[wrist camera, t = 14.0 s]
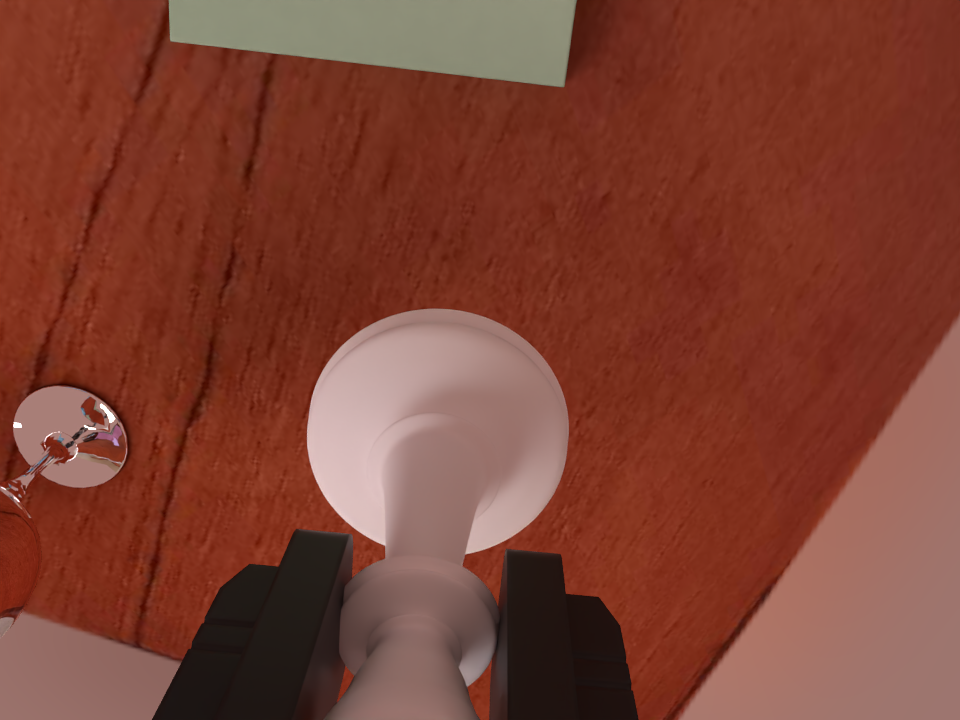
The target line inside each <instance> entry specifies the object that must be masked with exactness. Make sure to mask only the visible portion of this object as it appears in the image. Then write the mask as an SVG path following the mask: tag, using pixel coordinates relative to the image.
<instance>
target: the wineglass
mask: <svg viewBox="0 0 960 720" xmlns="http://www.w3.org/2000/svg"><path fill="white" fill-rule="evenodd" d="M13 435H14V440H15V443H16V446H17V448H18V450H19V452H20V454H21V455H22V457H23V458H24V460H25V461H26V462H27V463H28V465H29V466H30V467H29V468H28V469H27V470H25V471H24V472H23V473H21V474H20V475H18V476H17V477H15V478H13V479H11V480H9V481H5V482H1V483H0V638H1V637H2V636H3V635H4V634H5V633H6V632H7V631H8V630H9V629H10V628H11V627H12V625H13V624H14V623H15V621H16V620H17V619H18V617H19V616H20V614H21V613H22V611H23V610H24V608H25V607H26V605H27V603H28V601H29V599H30V597H31V595H32V593H33V591H34V589H35V587H36V585H37V582H38V578H39V575H40V571H41V562H42V550H41V543H40V536H39V533H38V530H37V527H36V525H35V523H34V521H33V519H32V517H31V515H30V513H29V512H28V511H27V509H26V508H25V507H24V505H23V504H22V503H21V501H22V500H23V498H24V496H25V493H26V491H27V490H28V488H29V487H30V485H31V484H32V482H33V481H34V480H35V479H36V478H37V477H38V476H39V475H41V476H43V477H44V478H46V479H48V480H50V481H52V482H54V483H56V484H59V485H62V486H66V487H71V488H91V487H96V486H99V485H102V484H104V483H106V482H108V481H109V480H111V479H112V478H114V477H115V476H116V475H117V474H118V473H119V472H120V470H121V469H122V467H123V466H124V464H125V461H126V459H127V455H128V439H127V434H126V431H125V428H124V426H123V423H122V422H121V420H120V418H119V417H118V415H117V414H116V413H115V411H114V410H113V409H112V408H111V407H110V406H109V405H108V404H107V403H106V402H105V401H103V400H102V399H100V398H99V397H97V396H96V395H94V394H92V393H90V392H88V391H86V390H83V389H81V388H77V387H73V386H67V385H53V386H47V387H43V388H40V389H38V390H35V391H34V392H32V393H31V394H29V395H28V396H26V397H25V399H24V400H23V401H22V402H21V403H20V405H19V406H18V408H17V410H16V412H15V415H14V419H13Z"/></svg>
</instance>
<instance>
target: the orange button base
mask: <svg viewBox="0 0 960 720" xmlns="http://www.w3.org/2000/svg"><path fill="white" fill-rule="evenodd" d="M576 2H577V0H169V18H170V41H172V42H181V43H189V44H198V45H206V46H215V47H223V48H232V49H241V50H249V51H258V52H266V53H275V54H283V55H292V56H300V57H309V58H317V59H326V60H334V61H343V62H351V63H360V64H368V65H377V66H385V67H394V68H402V69H411V70H420V71H428V72H437V73H445V74H454V75H462V76H471V77H479V78H488V79H496V80H505V81H513V82H522V83H530V84H539V85H547V86H556V87H564V86H565V80H566V73H567V66H568V59H569V51H570V44H571V37H572V30H573V23H574V16H575V9H576Z"/></svg>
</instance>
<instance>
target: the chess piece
mask: <svg viewBox="0 0 960 720" xmlns="http://www.w3.org/2000/svg"><path fill="white" fill-rule="evenodd" d="M568 435H569V421H568V412H567V407H566V402H565V399H564V395H563V392H562V390H561V387H560V385H559V383H558V380H557V378H556V377H555V375H554V373H553V371H552V370H551V368H550V367H549V365H548V364H547V362H546V361H545V360H544V358H543V357H542V356H541V355H540V354H539V353H538V352H537V350H536V349H535V348H534V347H533V346H531V345H530V344H529V343H528V342H527V341H526V340H525V339H523V338H522V337H521V336H519V335H518V334H517V333H515V332H514V331H512V330H510V329H509V328H507V327H505V326H503V325H502V324H500V323H498V322H495V321H493V320H491V319H488V318H486V317H483V316H480V315H476V314H473V313H469V312H464V311H459V310H451V309H421V310H414V311H408V312H404V313H400V314H396V315H393V316H390V317H387V318H384V319H382V320H380V321H377V322H375V323H373V324H371V325H369V326H368V327H366V328H364V329H363V330H361V331H360V332H358V333H357V334H355V335H354V336H353V337H351V338H350V339H349V340H348V341H347V342H346V343H344V344H343V345H342V346H341V347H340V348H339V349H338V351H337V352H336V353H335V354H334V355H333V356H332V358H331V359H330V360H329V362H328V363H327V365H326V366H325V368H324V370H323V371H322V373H321V375H320V377H319V379H318V381H317V384H316V386H315V389H314V392H313V396H312V399H311V404H310V411H309V420H308V427H307V447H308V454H309V460H310V464H311V467H312V471H313V474H314V476H315V479H316V481H317V483H318V485H319V487H320V489H321V491H322V493H323V494H324V496H325V497H326V499H327V500H328V502H329V503H330V505H331V506H332V507H333V508H334V509H335V511H336V512H337V513H338V514H339V515H340V516H341V517H342V518H343V519H344V520H345V521H346V522H347V523H349V524H350V525H351V526H352V527H353V528H355V529H356V530H357V531H359V532H360V533H362V534H363V535H365V536H367V537H368V538H370V539H372V540H374V541H376V542H378V543H380V544H382V545H384V546H385V552H386V559H383V560H381V561H378V562H376V563H374V564H372V565H370V566H368V567H366V568H365V569H363V570H362V571H360V572H359V573H358V574H356V575H355V576H354V577H353V578H352V579H351V580H350V581H349V582H348V583H347V585H346V586H345V588H344V597H343V606H342V608H341V615H340V635H339V654H340V656H341V658H342V660H343V662H344V663H345V665H346V666H347V668H348V669H349V670H350V672H351V673H352V674H353V675H354V678H353V680H352V682H351V684H350V686H349V688H348V689H347V691H346V692H345V693H344V695H343V696H342V697H341V699H340V700H339V701H338V702H337V703H336V704H335V705H334V706H333V707H332V709H331V710H330V711H329V712H328V714H327V715H326V716H325V718H324V719H323V720H480V719H479V717H478V716H477V714H476V712H475V710H474V708H473V705H472V703H471V700H470V697H469V693H468V689H467V686H469V685H470V684H472V683H473V682H474V681H475V680H476V679H478V678H479V677H480V676H481V674H482V673H483V672H484V671H485V669H486V668H487V667H488V665H489V663H490V661H491V659H492V657H493V654H494V652H495V650H496V645H497V638H498V630H499V621H500V613H499V609H498V606H497V603H496V601H495V599H494V597H493V595H492V593H491V592H490V590H489V589H488V588H487V586H486V585H485V584H484V583H483V582H482V581H481V580H480V579H479V578H478V577H477V576H476V575H474V574H473V573H472V572H470V571H469V570H467V569H466V568H464V567H462V565H463V561H464V557H465V554H469V553H473V552H477V551H481V550H484V549H487V548H490V547H492V546H495V545H497V544H499V543H501V542H503V541H505V540H507V539H509V538H510V537H512V536H514V535H515V534H517V533H518V532H520V531H521V530H522V529H524V528H525V527H526V526H527V525H528V524H530V523H531V522H532V521H533V520H534V519H535V518H536V517H537V516H538V515H539V514H540V512H541V511H542V510H543V509H544V507H545V506H546V505H547V503H548V502H549V500H550V499H551V497H552V496H553V494H554V492H555V490H556V488H557V486H558V484H559V481H560V479H561V476H562V473H563V470H564V466H565V461H566V455H567V444H568Z"/></svg>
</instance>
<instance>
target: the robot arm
mask: <svg viewBox="0 0 960 720" xmlns="http://www.w3.org/2000/svg"><path fill="white" fill-rule="evenodd" d="M352 562H353V537H352V534H344V533H334V532H323V531H312V530H302V529H296V530H295V531H294V533H293V535H292V537H291V540H290V542H289V544H288V547H287V549H286V551H285V554H284V556H283V558H282V561H281V563H280V565H279V567H276V566H266V565H255V564H249V565H248V566H247V567H245V568H244V569H243V570H242V571H240V572H239V573H238V574H237V575H235V576H234V577H233V578H232V579H231V580H229V581H228V582H227V583H226V584H224V585H223V586H222V587H221V588H220V589H219V591H218V593H217V595H216V597H215V599H214V601H213V603H212V605H211V607H210V609H209V611H208V613H207V614H206V616H205V621H204V624H201V626H200V628H199V630H198V632H197V634H196V636H195V638H194V640H193V641H192V647H191V649H188V651H187V653H186V655H185V657H184V659H183V661H182V663H181V665H180V667H179V669H178V671H177V672H176V674H175V676H174V678H173V680H172V682H171V684H170V686H169V688H168V690H167V692H166V694H165V696H164V697H163V699H162V701H161V704H160V705H159V707H158V709H157V711H156V713H155V715H154V717H153V719H152V720H323V719H324V718H325V716H326V715H327V714H328V712H329V711H330V710H331V709H332V707H333V706H334V705H335V704H336V703H337V699H338V695H339V691H340V687H341V683H342V679H343V674H344V669H345V663H344V662H343V660H342V658H341V656H340V654H339V635H340V615H341V608H342V606H343V597H344V588H345V586H346V585H347V583H348V582H349V581H350V580H351V579H352ZM498 609H499V613H500V621H499V630H498V638H497V645H496V650H495V652H494V654H493V657H492V667H491V682H490V715H489V720H638V715H637V710H636V705H635V699H634V694H633V691H631V679H630V674H629V669H628V664H627V663H626V654H625V648H624V643H623V638H622V633H621V628H620V625H619V624H618V622H617V621H616V620H615V618H614V617H613V616H612V614H611V613H610V612H609V610H608V609H607V608H606V606H605V605H604V604H603V602H602V601H601V600H600V598H599V597H593V596H582V595H571V594H566V592H565V583H564V574H563V565H562V557H561V555H560V554H554V553H543V552H532V551H522V550H511V549H506V551H505V556H504V563H503V571H502V579H501V587H500V595H499V603H498Z"/></svg>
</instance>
